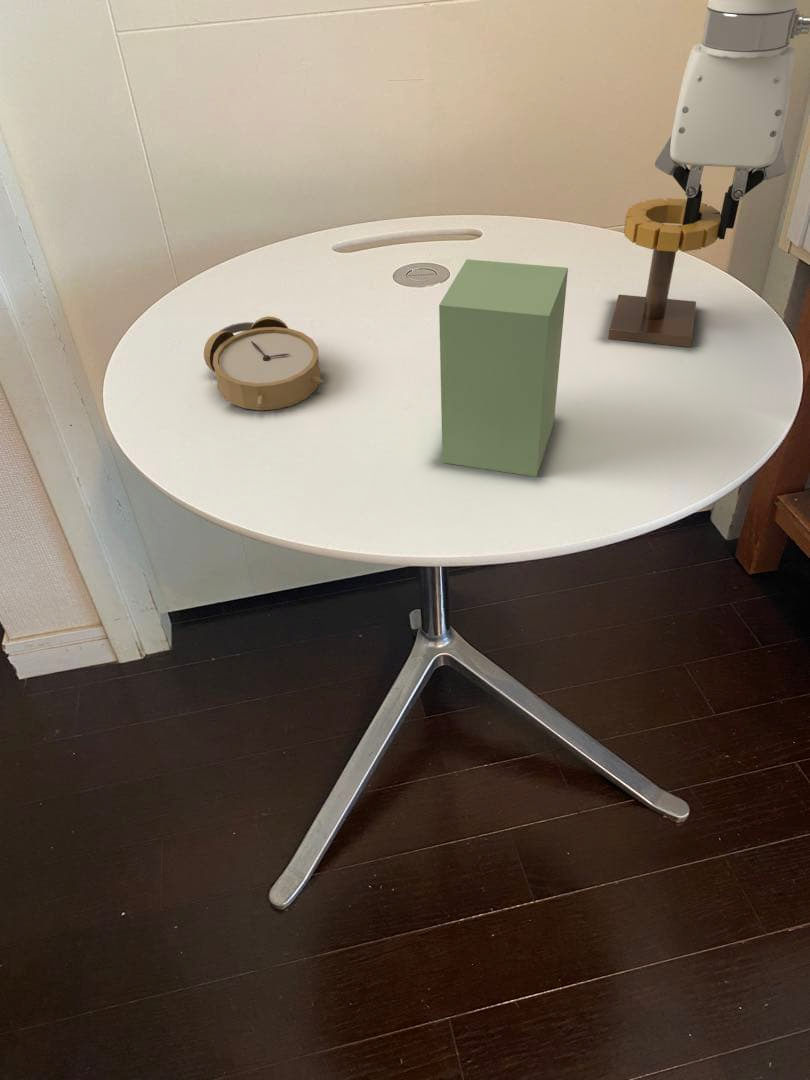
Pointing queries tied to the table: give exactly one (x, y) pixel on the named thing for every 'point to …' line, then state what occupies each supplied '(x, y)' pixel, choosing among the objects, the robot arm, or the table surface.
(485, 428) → the sage green upright pillar
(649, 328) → the peg stand
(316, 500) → the table surface
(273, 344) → the alarm clock
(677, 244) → the brass ring
